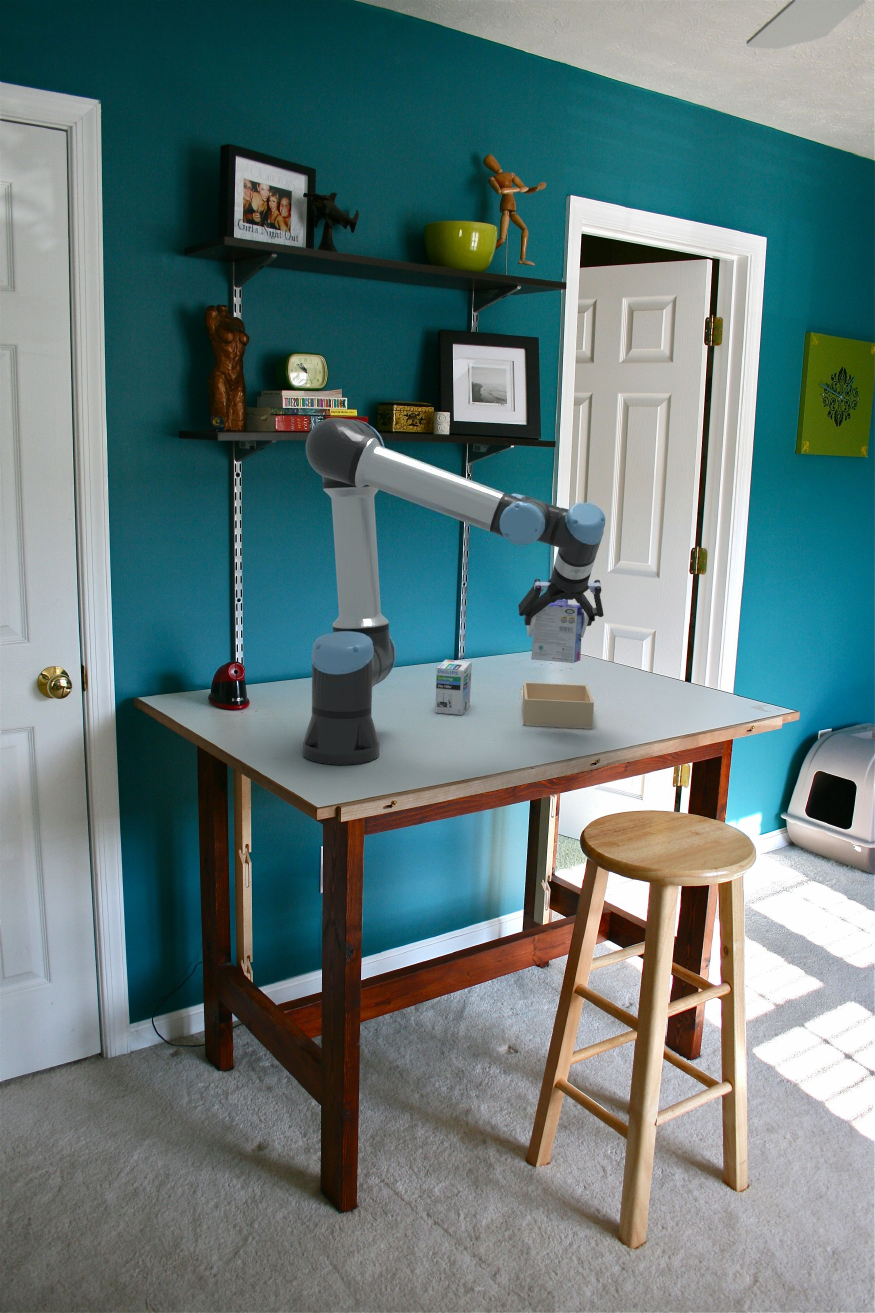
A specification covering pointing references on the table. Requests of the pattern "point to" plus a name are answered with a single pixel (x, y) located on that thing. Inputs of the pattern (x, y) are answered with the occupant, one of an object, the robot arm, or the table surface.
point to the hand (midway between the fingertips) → (554, 632)
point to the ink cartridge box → (558, 633)
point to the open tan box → (557, 705)
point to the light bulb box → (453, 687)
